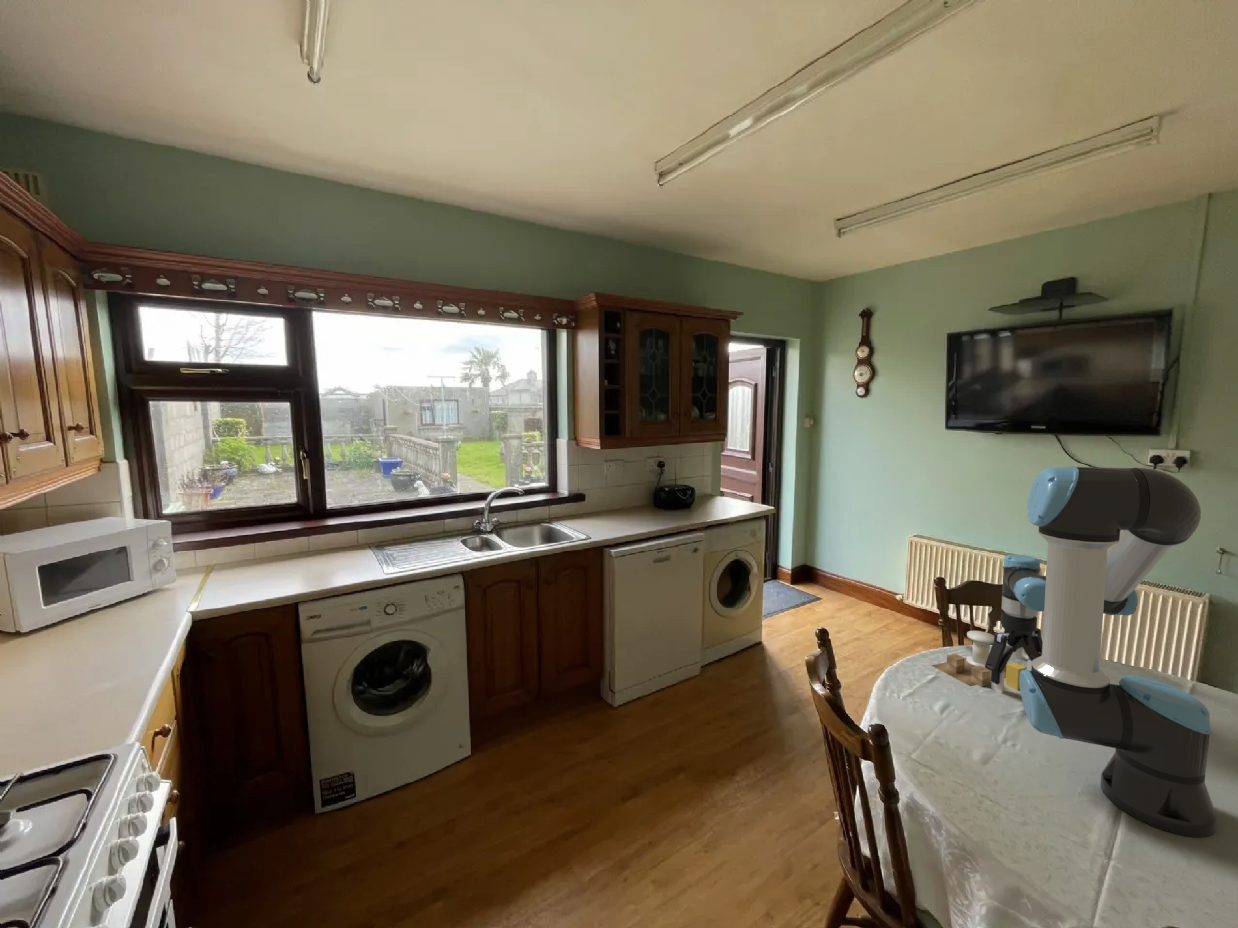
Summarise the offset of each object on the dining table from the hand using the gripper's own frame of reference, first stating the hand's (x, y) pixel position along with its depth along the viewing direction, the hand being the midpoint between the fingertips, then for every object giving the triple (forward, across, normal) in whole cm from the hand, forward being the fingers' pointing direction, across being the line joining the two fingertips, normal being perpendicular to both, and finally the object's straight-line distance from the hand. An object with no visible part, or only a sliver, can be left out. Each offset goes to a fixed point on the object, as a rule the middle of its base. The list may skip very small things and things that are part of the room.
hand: (1014, 689), depth 136 cm
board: (0, +1, -10) cm, 10 cm away
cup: (0, -18, -11) cm, 21 cm away
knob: (-1, -3, -12) cm, 12 cm away
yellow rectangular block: (0, 0, 0) cm, 0 cm away
